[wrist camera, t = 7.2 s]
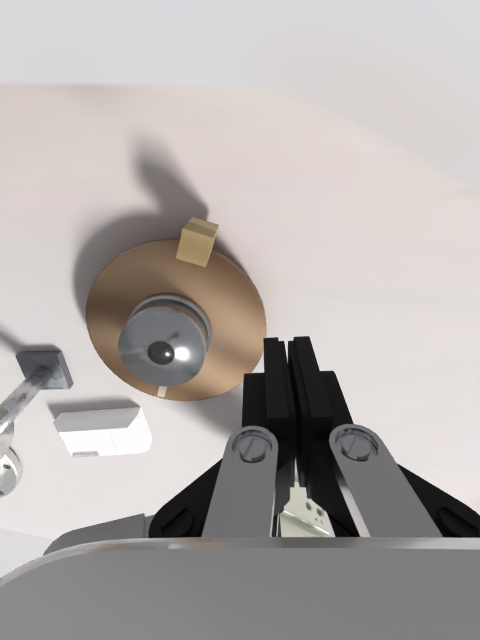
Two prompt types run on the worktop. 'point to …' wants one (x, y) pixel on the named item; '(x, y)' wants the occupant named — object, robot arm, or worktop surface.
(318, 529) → the pneumatic valve
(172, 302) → the cover
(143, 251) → the turntable
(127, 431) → the white switch plate
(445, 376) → the worktop surface
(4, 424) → the gauge post
